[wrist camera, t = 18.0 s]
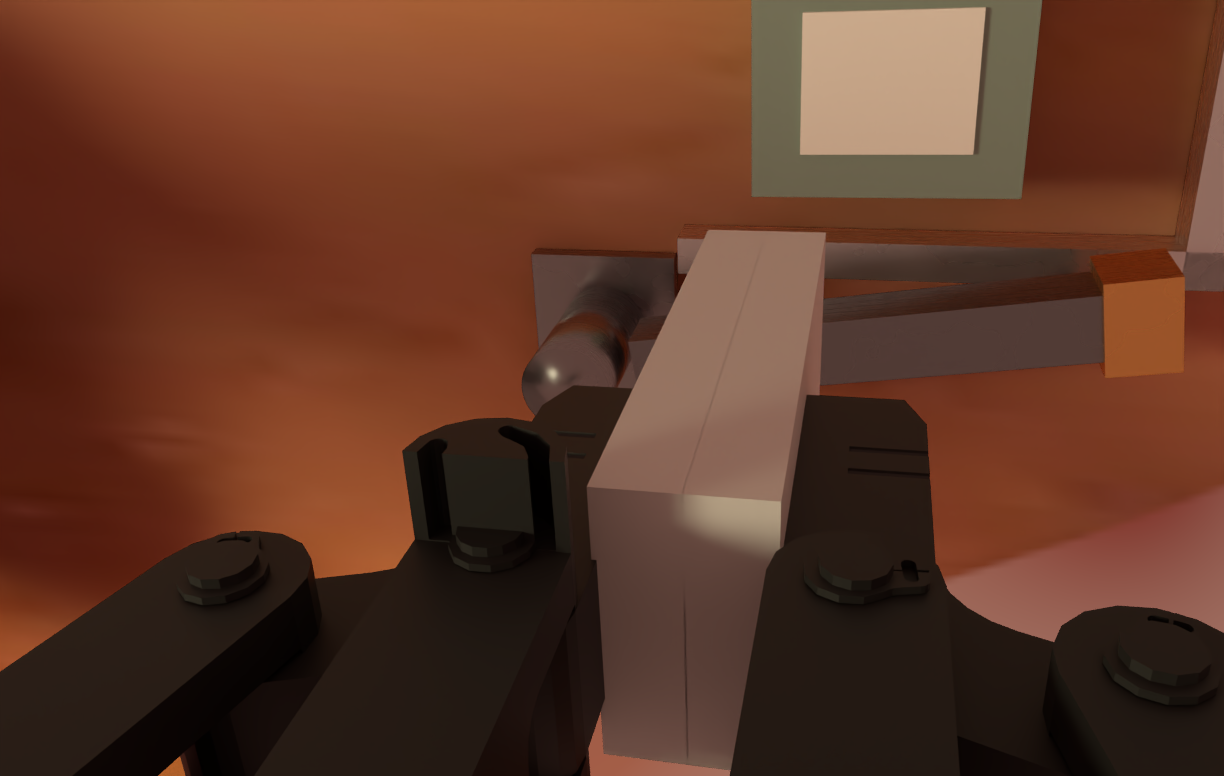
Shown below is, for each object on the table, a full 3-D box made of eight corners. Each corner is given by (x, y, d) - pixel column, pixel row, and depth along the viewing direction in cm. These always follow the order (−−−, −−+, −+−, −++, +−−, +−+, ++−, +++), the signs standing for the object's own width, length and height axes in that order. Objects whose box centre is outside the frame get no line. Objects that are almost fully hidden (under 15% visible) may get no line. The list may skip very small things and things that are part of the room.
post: (546, 377, 41) (495, 455, 36) (536, 248, 39) (480, 311, 34) (679, 385, 40) (647, 466, 35) (676, 252, 38) (641, 318, 32)
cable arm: (655, 382, 37) (641, 414, 35) (640, 303, 36) (624, 332, 34) (1164, 338, 33) (1184, 372, 30) (1165, 247, 31) (1185, 276, 29)
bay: (685, 258, 38) (678, 273, 36) (677, -183, 32) (668, -184, 31) (1210, 274, 34) (1223, 291, 33) (1308, -219, 28) (1328, -223, 27)
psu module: (772, 145, 36) (751, 198, 30) (773, -55, 33) (750, -36, 28) (1006, 144, 34) (1028, 200, 29) (1026, -66, 31) (1054, -48, 26)
